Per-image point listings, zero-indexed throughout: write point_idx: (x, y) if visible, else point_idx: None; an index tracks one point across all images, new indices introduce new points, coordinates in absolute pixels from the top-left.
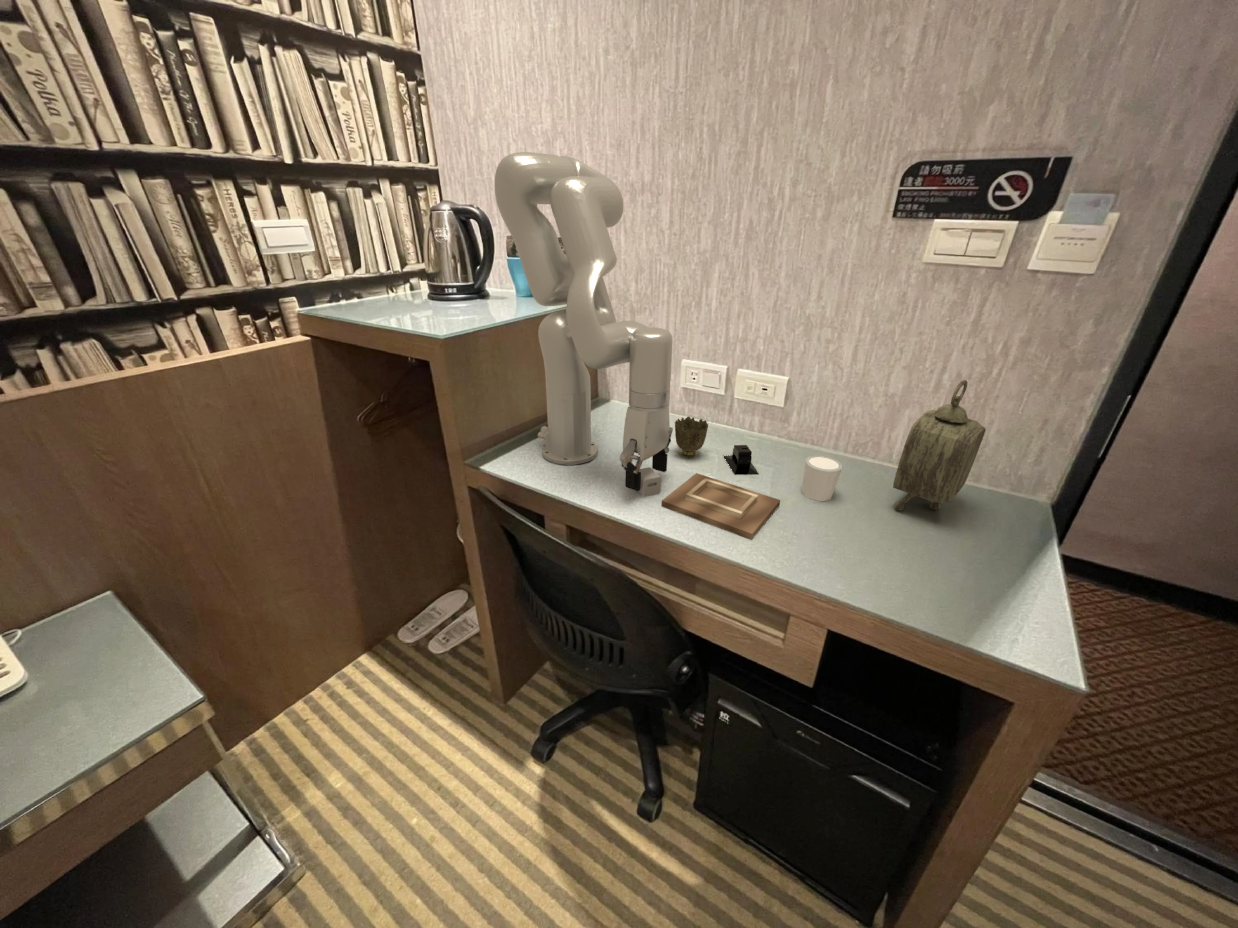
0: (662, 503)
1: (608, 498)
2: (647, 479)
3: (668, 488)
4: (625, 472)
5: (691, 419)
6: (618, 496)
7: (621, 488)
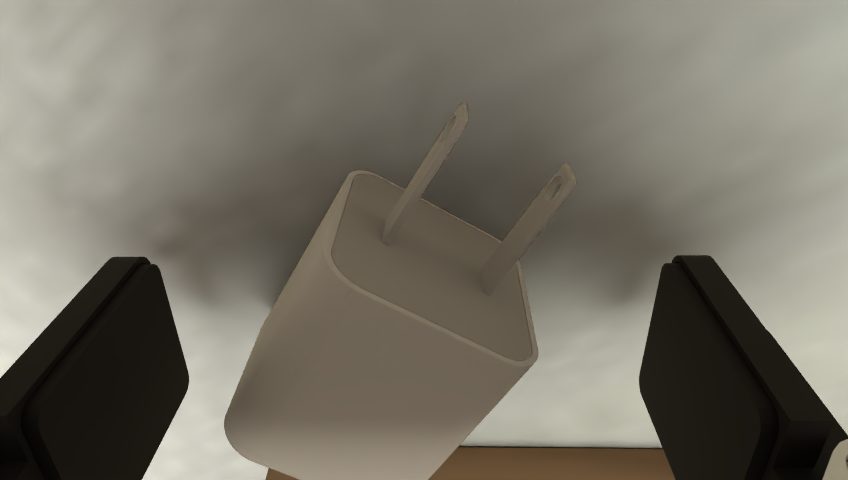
0: (271, 470)
1: (7, 96)
2: (262, 459)
3: (530, 381)
4: (9, 369)
5: None
6: (115, 150)
7: (249, 82)
